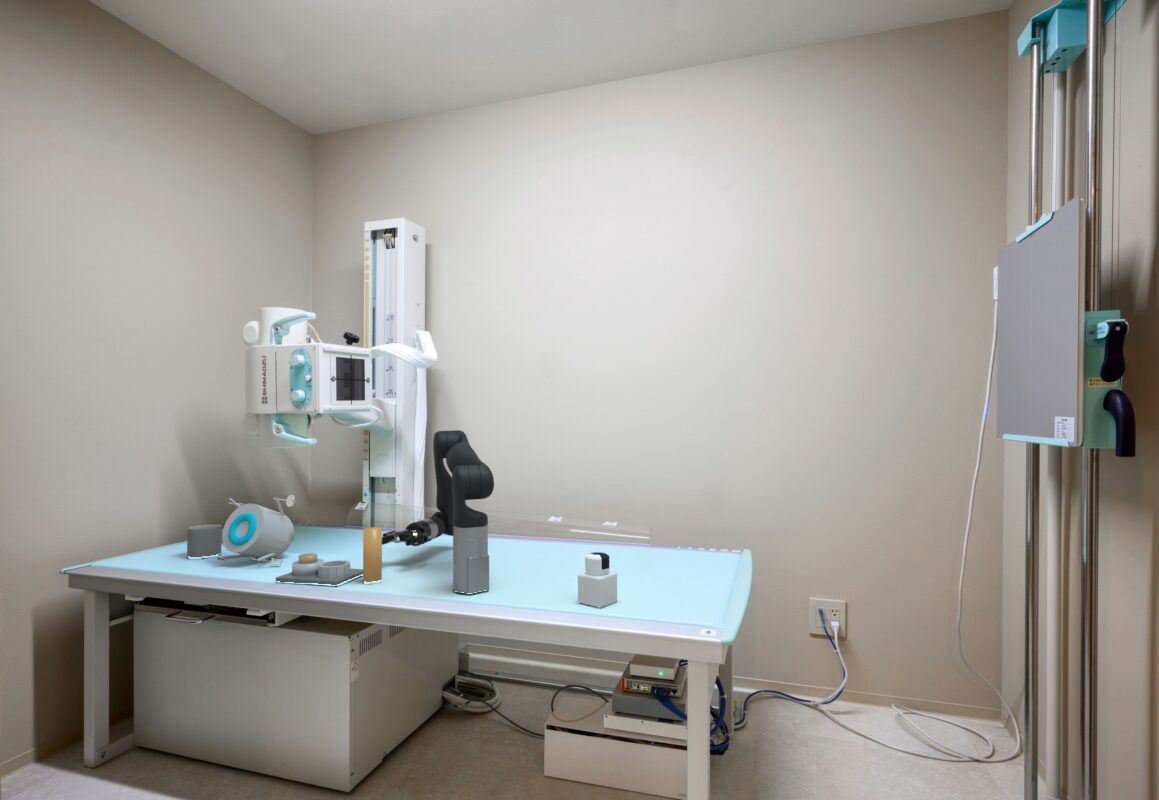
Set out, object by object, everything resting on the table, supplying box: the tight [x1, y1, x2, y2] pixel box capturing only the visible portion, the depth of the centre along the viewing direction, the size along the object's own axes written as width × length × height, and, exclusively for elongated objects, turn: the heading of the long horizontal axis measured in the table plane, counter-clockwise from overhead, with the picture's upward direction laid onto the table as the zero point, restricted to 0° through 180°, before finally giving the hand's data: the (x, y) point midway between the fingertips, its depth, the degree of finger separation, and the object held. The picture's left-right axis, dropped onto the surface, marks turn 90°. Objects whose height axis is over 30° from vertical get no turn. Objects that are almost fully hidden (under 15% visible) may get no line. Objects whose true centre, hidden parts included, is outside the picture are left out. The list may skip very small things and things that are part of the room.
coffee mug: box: [186, 523, 223, 557], centre depth 206 cm, size 13×10×10 cm
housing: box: [275, 553, 363, 585], centre depth 173 cm, size 20×14×6 cm
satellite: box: [215, 494, 296, 566], centre depth 197 cm, size 23×20×25 cm
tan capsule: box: [362, 526, 383, 582], centre depth 169 cm, size 5×5×15 cm
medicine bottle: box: [577, 551, 618, 609], centre depth 148 cm, size 7×7×12 cm
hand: (394, 541), depth 180 cm, fingers open, 8 cm apart
